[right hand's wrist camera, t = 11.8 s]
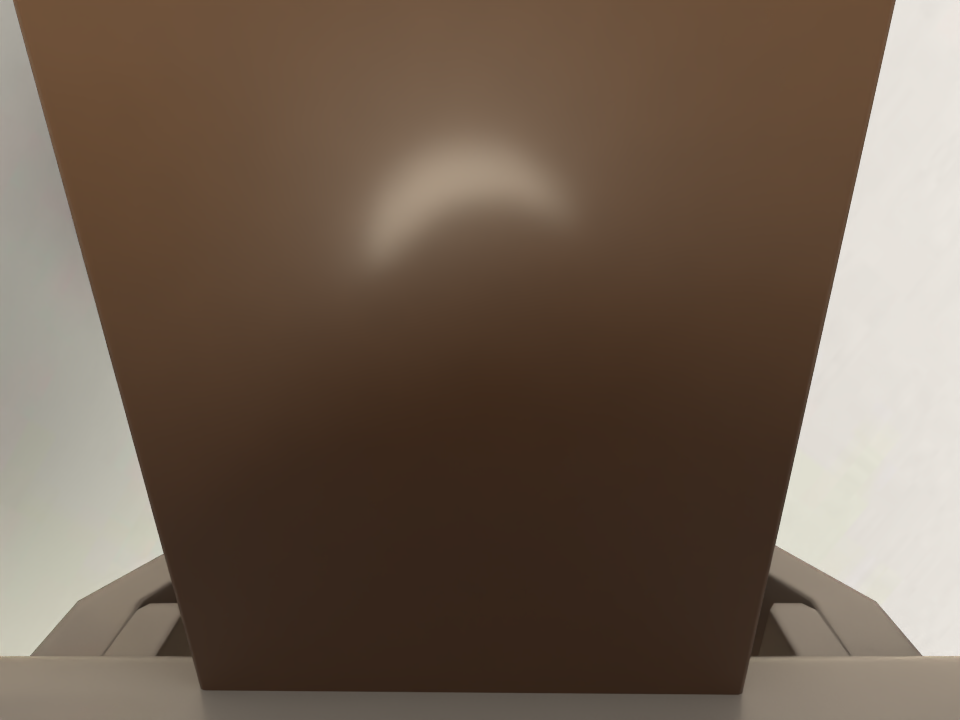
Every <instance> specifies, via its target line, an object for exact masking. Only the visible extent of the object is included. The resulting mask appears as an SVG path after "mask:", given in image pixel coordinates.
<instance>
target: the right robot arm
mask: <svg viewBox="0 0 960 720" xmlns="http://www.w3.org/2000/svg"><path fill="white" fill-rule="evenodd" d="M0 720H960V656H922V655H921V654H920V652H919V651H918V650H917V649H916V648H915V647H914V645H913V644H912V643H911V642H910V641H909V640H908V638H907V637H906V636H905V635H904V634H903V633H902V631H901V630H900V629H899V628H898V627H897V626H896V624H895V623H894V622H893V621H892V620H891V618H890V617H889V616H888V615H887V614H886V613H885V611H884V610H883V609H882V608H881V607H880V606H879V604H878V603H877V602H876V601H874V600H872V599H870V598H869V597H867V596H865V595H863V594H861V593H860V592H858V591H856V590H854V589H852V588H851V587H849V586H847V585H845V584H844V583H842V582H840V581H838V580H836V579H835V578H833V577H831V576H829V575H827V574H826V573H824V572H822V571H820V570H818V569H817V568H815V567H813V566H811V565H810V564H808V563H806V562H804V561H802V560H801V559H799V558H797V557H795V556H793V555H792V554H790V553H788V552H786V551H784V550H783V549H781V548H779V547H777V546H775V548H774V552H773V557H772V561H771V566H770V570H769V575H768V579H767V584H766V588H765V593H764V598H763V602H762V607H761V611H760V616H759V620H758V625H757V629H756V634H755V638H754V643H753V647H752V652H751V656H750V661H749V665H748V670H747V674H746V679H745V683H744V688H743V692H742V694H739V695H698V694H576V693H455V692H333V691H212V690H202V689H201V688H200V684H199V681H198V677H197V673H196V670H195V666H194V662H193V659H192V655H191V651H190V648H189V644H188V640H187V637H186V633H185V629H184V626H183V622H182V618H181V615H180V611H179V607H178V604H177V600H176V596H175V593H174V589H173V585H172V582H171V578H170V574H169V571H168V567H167V563H166V560H165V556H164V554H162V555H160V556H159V557H157V558H155V559H153V560H151V561H150V562H148V563H146V564H144V565H142V566H141V567H139V568H137V569H135V570H133V571H131V572H130V573H128V574H126V575H124V576H122V577H121V578H119V579H117V580H115V581H113V582H112V583H110V584H108V585H106V586H104V587H102V588H101V589H99V590H97V591H95V592H93V593H92V594H90V595H88V596H86V597H84V598H83V599H81V600H79V601H78V602H77V603H76V604H75V605H74V606H73V607H72V609H71V610H70V611H69V612H68V613H67V614H66V615H65V617H64V618H63V619H62V620H61V621H60V622H59V623H58V625H57V626H56V627H55V628H54V629H53V630H52V631H51V633H50V634H49V635H48V636H47V637H46V638H45V639H44V641H43V642H42V643H41V644H40V645H39V646H38V647H37V649H36V650H35V651H34V652H33V653H32V654H31V655H30V656H0Z"/></svg>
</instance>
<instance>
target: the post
mask: <svg viewBox="0 0 960 720" xmlns="http://www.w3.org/2000/svg"><path fill="white" fill-rule="evenodd" d="M895 1H896V0H13V2H14V6H15V10H16V13H17V17H18V21H19V24H20V28H21V32H22V35H23V39H24V43H25V46H26V50H27V54H28V57H29V61H30V65H31V68H32V72H33V76H34V79H35V83H36V87H37V90H38V94H39V98H40V101H41V105H42V109H43V112H44V116H45V120H46V123H47V127H48V131H49V134H50V138H51V142H52V145H53V149H54V153H55V156H56V160H57V164H58V167H59V171H60V175H61V178H62V182H63V186H64V189H65V193H66V197H67V200H68V204H69V208H70V211H71V215H72V219H73V222H74V226H75V230H76V233H77V237H78V241H79V244H80V248H81V252H82V255H83V259H84V263H85V266H86V270H87V274H88V277H89V281H90V285H91V288H92V292H93V296H94V299H95V303H96V307H97V310H98V314H99V318H100V321H101V325H102V329H103V332H104V336H105V340H106V343H107V347H108V351H109V354H110V358H111V362H112V365H113V369H114V373H115V376H116V380H117V384H118V387H119V391H120V395H121V398H122V402H123V406H124V409H125V413H126V417H127V420H128V424H129V428H130V431H131V435H132V439H133V442H134V446H135V450H136V453H137V457H138V461H139V464H140V468H141V472H142V475H143V479H144V483H145V486H146V490H147V494H148V497H149V501H150V505H151V508H152V512H153V516H154V519H155V523H156V527H157V530H158V534H159V538H160V541H161V545H162V549H163V552H164V556H165V560H166V563H167V567H168V571H169V574H170V578H171V582H172V585H173V589H174V593H175V596H176V600H177V604H178V607H179V611H180V615H181V618H182V622H183V626H184V629H185V633H186V637H187V640H188V644H189V648H190V651H191V655H192V659H193V662H194V666H195V670H196V673H197V677H198V681H199V684H200V688H201V689H202V690H212V691H333V692H455V693H576V694H698V695H739V694H742V692H743V688H744V683H745V679H746V674H747V670H748V665H749V661H750V656H751V652H752V647H753V643H754V638H755V634H756V629H757V625H758V620H759V616H760V611H761V607H762V602H763V598H764V593H765V588H766V584H767V579H768V575H769V570H770V566H771V561H772V557H773V552H774V548H775V543H776V539H777V534H778V530H779V525H780V521H781V516H782V512H783V507H784V503H785V498H786V494H787V489H788V485H789V480H790V475H791V471H792V466H793V462H794V457H795V453H796V448H797V444H798V439H799V435H800V430H801V426H802V421H803V417H804V412H805V408H806V403H807V399H808V394H809V390H810V385H811V381H812V376H813V371H814V367H815V362H816V358H817V353H818V349H819V344H820V340H821V335H822V331H823V326H824V322H825V317H826V313H827V308H828V304H829V299H830V295H831V290H832V286H833V281H834V277H835V272H836V268H837V263H838V258H839V254H840V249H841V245H842V240H843V236H844V231H845V227H846V222H847V218H848V213H849V209H850V204H851V200H852V195H853V191H854V186H855V182H856V177H857V173H858V168H859V164H860V159H861V154H862V150H863V145H864V141H865V136H866V132H867V127H868V123H869V118H870V114H871V109H872V105H873V100H874V96H875V91H876V87H877V82H878V78H879V73H880V69H881V64H882V60H883V55H884V51H885V46H886V41H887V37H888V32H889V28H890V23H891V19H892V14H893V10H894V5H895Z"/></svg>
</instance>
